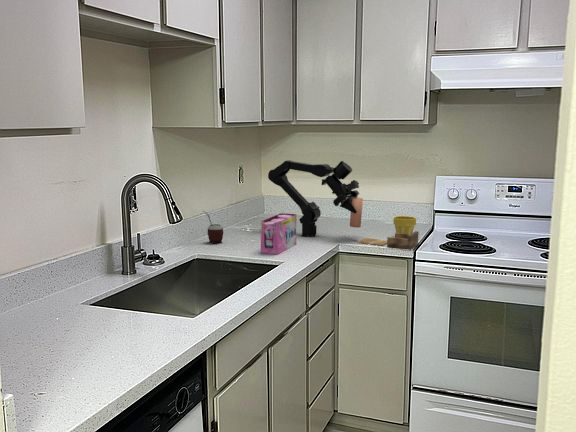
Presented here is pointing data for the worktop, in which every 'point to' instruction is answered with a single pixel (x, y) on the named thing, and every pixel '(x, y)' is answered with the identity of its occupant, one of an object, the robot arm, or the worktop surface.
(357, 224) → the post
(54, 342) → the worktop surface
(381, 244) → the brown wooden flat block
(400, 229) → the plant pot
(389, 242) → the open wooden box
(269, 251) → the gum box
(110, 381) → the worktop surface
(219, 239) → the mate gourd
